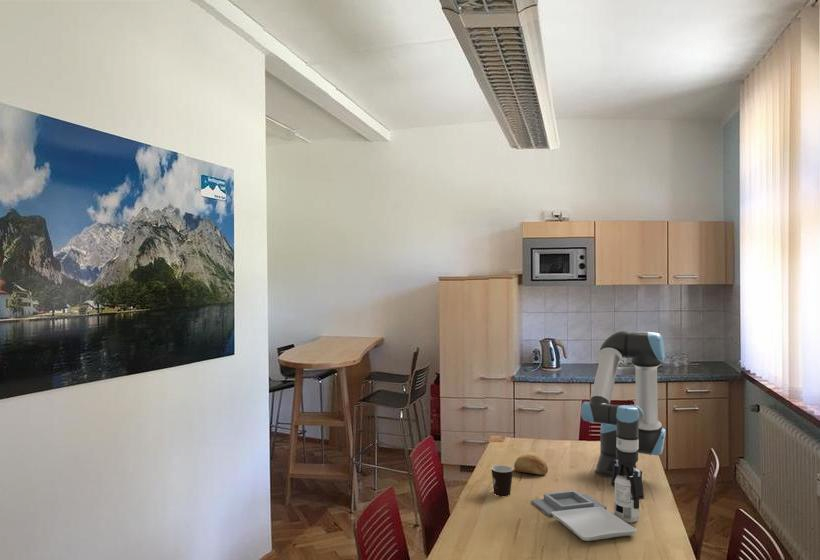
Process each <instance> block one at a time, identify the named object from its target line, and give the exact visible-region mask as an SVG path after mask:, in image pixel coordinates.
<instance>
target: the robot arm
mask: <svg viewBox="0 0 820 560" xmlns="http://www.w3.org/2000/svg"><path fill="white" fill-rule="evenodd" d="M663 338H664V337H663V336H662V335H661V333H658V332H651V331H634V330H633V331H632V330H631V331H630V330H629V331H628V330H620V331H617V332H615V333H613V334H611V335H610V336H609V337H607V338H606V339H605V340H604V342H603V343H602V344H601V346H600V348H599V352H598V358H599V361H598V366H597V370H596V374H595V379H594V381H593V387H592V390H591V393H590V398H589V401H583V403H582V404H581V406H580V407H581V408H580V417H581V419H582V420H583V421H585V422H589V423H595V424H600V431H599V434H600V436H599V437H600V439H599V440H600V441H599V442H600V445H599V446H600V448H599V449H600V451H599V452H600V455H599V457H598V459H597V464H596V465H595V466H596V467H595V472H596V473H597V474H599V475H601V476H603V477H607V478H611V479H610V485H611V486H613V488H614V490H615V479H616V477H617V475H618V474H619V475H620V476H623V475H625V476H626V478H627V480H630V484H631V494H632V498H631V518H634V517H639V516H640V515H639V514H640V513H639V512H640V500H644V499H645V494H644V488H643V487H644V486H643V478H642V477H643V471H642V470H641V469H640V470H639V469H637V465H636V463H638V461H639V454H641V455H642V454H643V455H649V456H661V455H662V453H663V452H664V451H663V450H664V446H665V439H666V433H667V432H666V431H667V430H666V429H665V428H664V427H663V426H662V425H663V424H662V422H661V421H660V420H659V411H658V410H659V409H658V408H659V407H658V405H659V404H658V367H660V366H661V365H662V362H664V361H665V360H666V359H665V358H666V353H665V352H666V350H665V343H664V339H663ZM623 359H627V360H628V359H630V360H631V361H630V363H631V365H633V366H634V367H635V368H634V369H635V370H634V371H635V404H629V405H628V404H622V405H620V404H611V400H612V396H613V391H614V387H615V386H614V385H615V382H616V377H617V372H618V368H619V364H620V363H621V362H622V361H623ZM629 476H633V477H629ZM635 495H636V496H635ZM639 518H640V517H639Z"/></svg>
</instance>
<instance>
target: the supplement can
mask: <svg viewBox="0 0 820 560" xmlns="http://www.w3.org/2000/svg"><path fill="white" fill-rule="evenodd" d="M629 477H633V476H629ZM614 482H615V489H614V515H616V516H617V517H619V518H620V519H622V520H623V521H625V522H626V523H636V522H637V521H638V520H639V519H640V517H634V518H631V498H632V494H631V484H630V480H627V478H626V476H625V475H623V476H620V475H619V474H618V475H617V477H616V479H615V481H614ZM635 496H636V495H635Z"/></svg>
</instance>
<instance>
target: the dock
mask: <svg viewBox="0 0 820 560" xmlns="http://www.w3.org/2000/svg"><path fill="white" fill-rule="evenodd" d="M530 503H531V504H533V505H534V506H535V507H536V508H537V509H539V510H540V511H541V512H543V513H544V514H545V515H547V517H550V518H551V517H554V516H553V515H552V513H551V512H554V511H562V510H570V509H580V508H590V507H603V508H605V509H606V510H608V507H607V506H606V505H605V504H603V503H601V502H599V501H598V500H596V499H595V498H593V497H592V496H590V495H589V494H587V493H580V492H578V491H576V490H574V489H573V490H565V491H557V492H547V493H543V498H537V499H531V500H530Z"/></svg>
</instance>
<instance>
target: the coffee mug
mask: <svg viewBox="0 0 820 560" xmlns="http://www.w3.org/2000/svg"><path fill="white" fill-rule="evenodd" d="M490 469H491V477H492V487H493V494H494V495H495V494H496V495H495V496H497V495H499V496H498V497H502V496H504V497H509V496H510V495H511V489H512V483H513V482H512V481H513V473H514V468H513V467H511V466H508V465H502V464H499V465H497V464H496V465H493V466H492V467H490ZM508 495H509V496H508Z"/></svg>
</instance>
